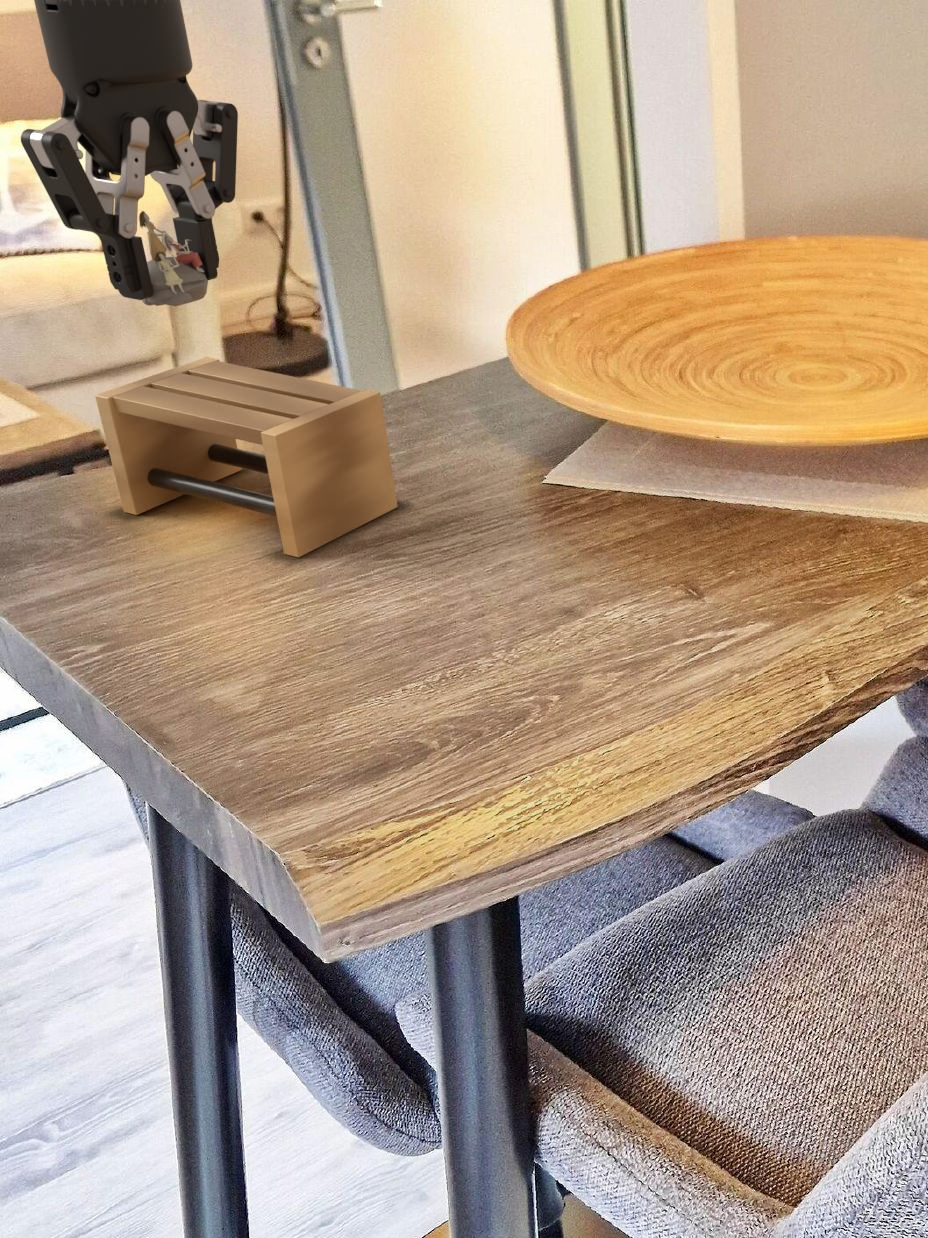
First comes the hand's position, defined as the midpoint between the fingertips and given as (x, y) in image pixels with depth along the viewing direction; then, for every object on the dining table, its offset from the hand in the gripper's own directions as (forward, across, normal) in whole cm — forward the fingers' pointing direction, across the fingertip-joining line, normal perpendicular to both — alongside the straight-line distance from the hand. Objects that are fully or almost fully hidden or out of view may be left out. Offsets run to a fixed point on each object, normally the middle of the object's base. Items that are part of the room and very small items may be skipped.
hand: (169, 286), depth 93 cm
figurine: (+1, 0, 0) cm, 1 cm away
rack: (+14, 0, +4) cm, 15 cm away
